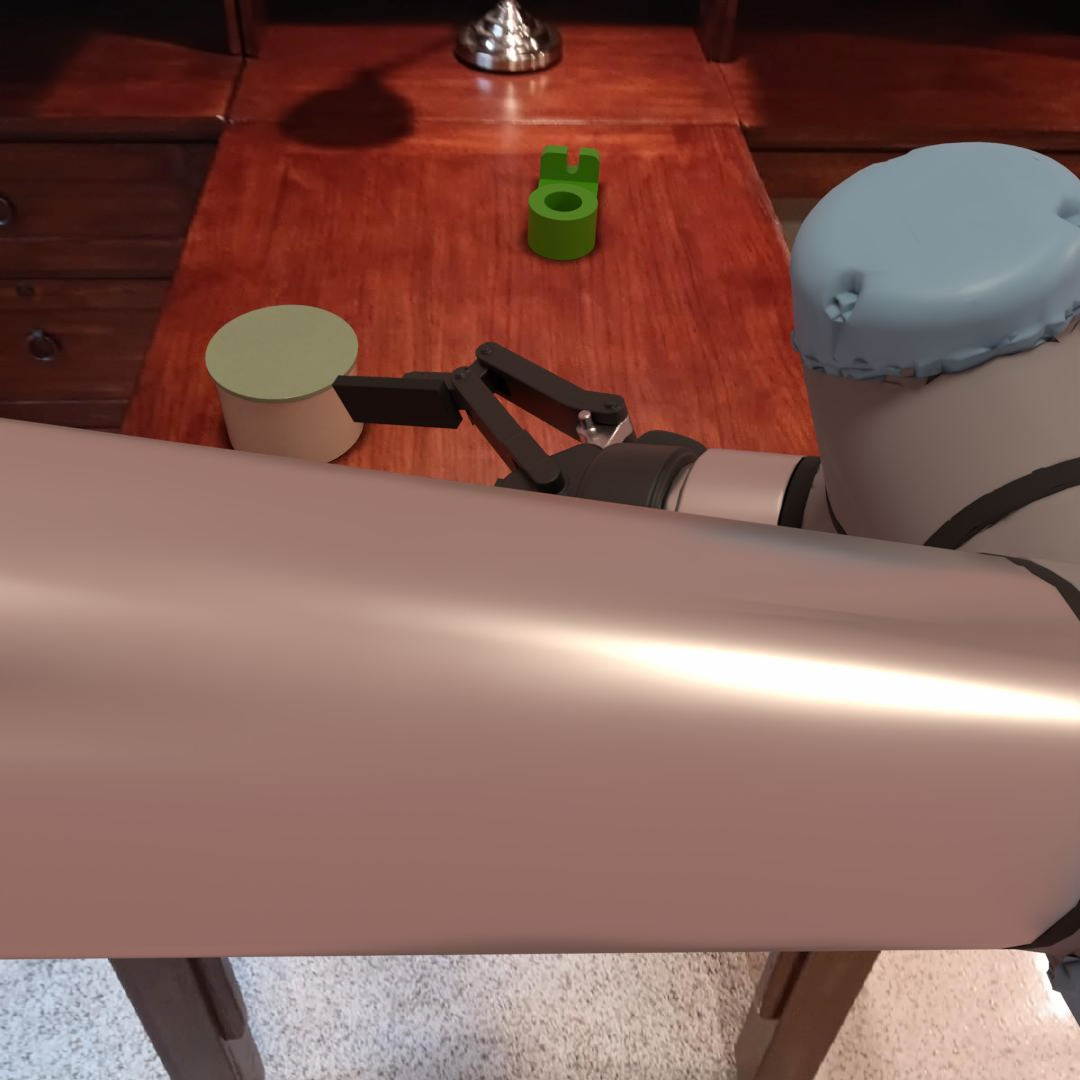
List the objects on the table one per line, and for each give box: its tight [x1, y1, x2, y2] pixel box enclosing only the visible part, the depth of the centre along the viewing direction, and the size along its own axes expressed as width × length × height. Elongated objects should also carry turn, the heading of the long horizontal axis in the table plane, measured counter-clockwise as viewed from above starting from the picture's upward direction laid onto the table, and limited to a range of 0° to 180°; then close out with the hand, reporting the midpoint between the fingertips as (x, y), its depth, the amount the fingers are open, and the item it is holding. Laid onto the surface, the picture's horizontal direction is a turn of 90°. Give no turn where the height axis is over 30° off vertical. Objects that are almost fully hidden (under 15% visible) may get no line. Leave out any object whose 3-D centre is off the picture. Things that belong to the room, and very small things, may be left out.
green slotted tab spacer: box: [527, 144, 601, 261], centre depth 112 cm, size 15×7×5 cm, turn 175°
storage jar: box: [204, 304, 365, 463], centre depth 88 cm, size 12×12×8 cm
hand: (281, 496), depth 52 cm, fingers open, 13 cm apart
